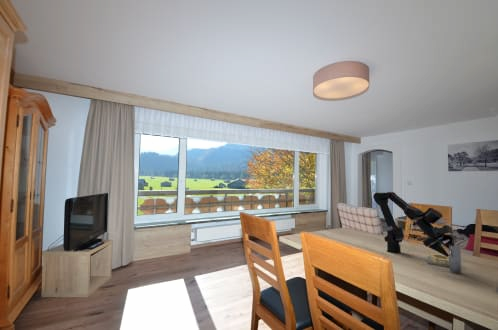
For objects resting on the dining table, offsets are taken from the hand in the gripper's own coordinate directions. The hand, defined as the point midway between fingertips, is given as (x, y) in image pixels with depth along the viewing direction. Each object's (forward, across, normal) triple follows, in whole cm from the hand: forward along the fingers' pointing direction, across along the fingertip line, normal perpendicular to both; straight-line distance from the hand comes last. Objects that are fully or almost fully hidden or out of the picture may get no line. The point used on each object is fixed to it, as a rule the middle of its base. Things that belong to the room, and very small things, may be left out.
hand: (453, 255), depth 109 cm
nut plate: (-1, +8, +12) cm, 15 cm away
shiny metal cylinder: (+6, 0, +6) cm, 8 cm away
